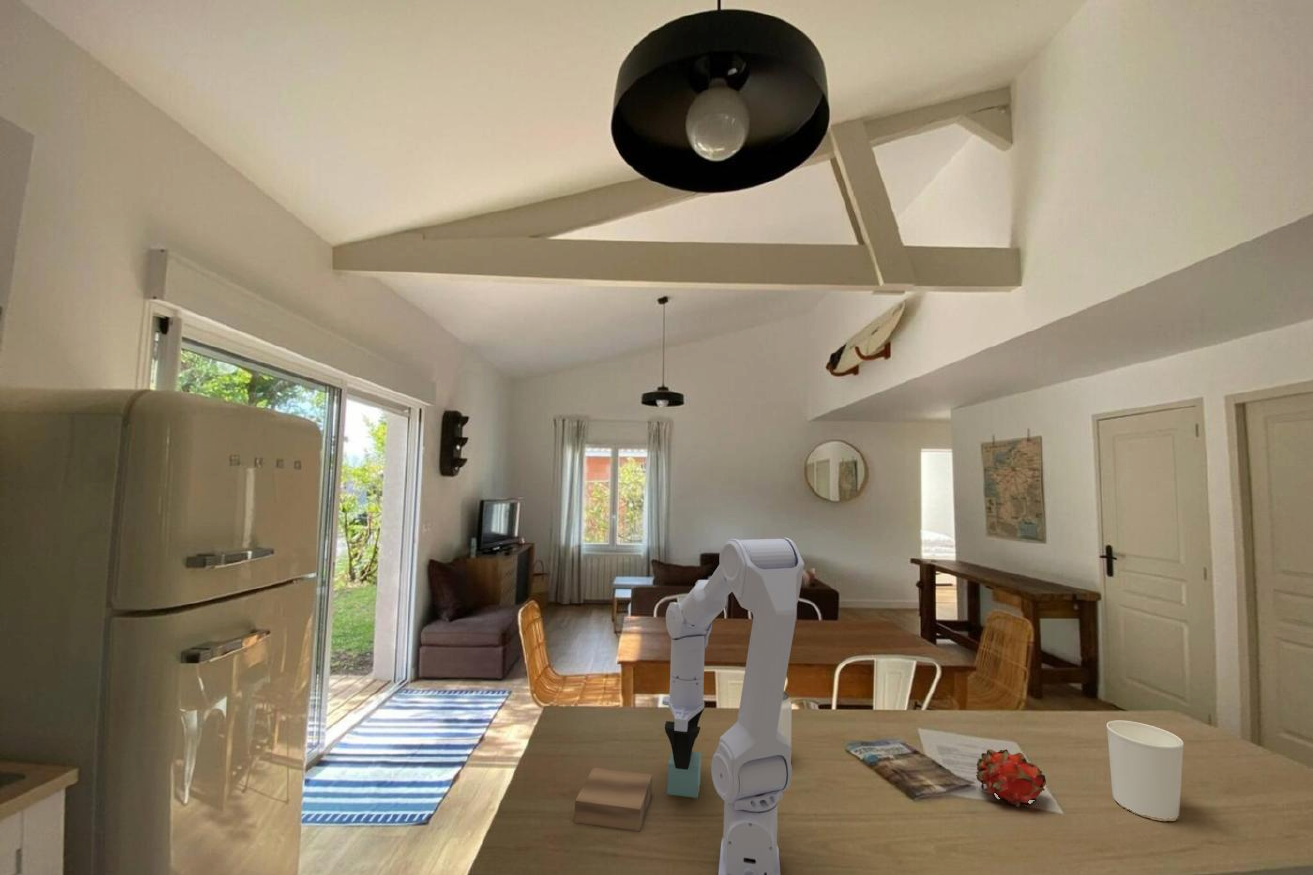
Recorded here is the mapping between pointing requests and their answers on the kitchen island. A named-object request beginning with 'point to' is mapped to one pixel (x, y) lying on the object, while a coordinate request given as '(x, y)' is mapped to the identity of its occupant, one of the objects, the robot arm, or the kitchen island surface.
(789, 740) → the can
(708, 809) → the kitchen island surface
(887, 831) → the kitchen island surface
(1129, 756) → the candle holder
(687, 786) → the teal cube
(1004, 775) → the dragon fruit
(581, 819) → the walnut block
